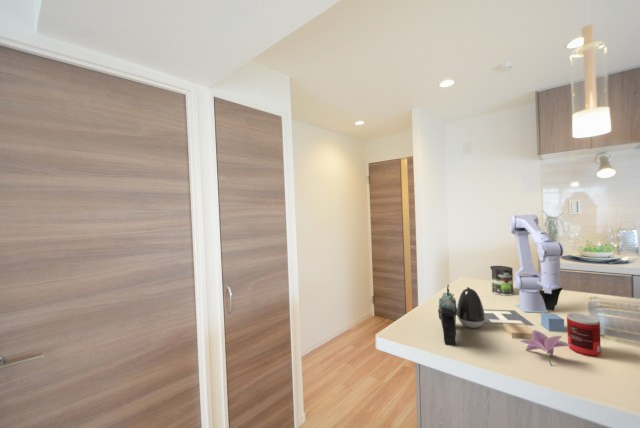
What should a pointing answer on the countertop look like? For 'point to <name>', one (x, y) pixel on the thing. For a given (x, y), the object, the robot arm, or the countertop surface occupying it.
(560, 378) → the countertop surface
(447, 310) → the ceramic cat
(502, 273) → the coffee can
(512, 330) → the oak slab
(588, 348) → the canned food
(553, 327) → the blue cube
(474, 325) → the black egg shaped container
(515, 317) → the letter card
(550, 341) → the lily
